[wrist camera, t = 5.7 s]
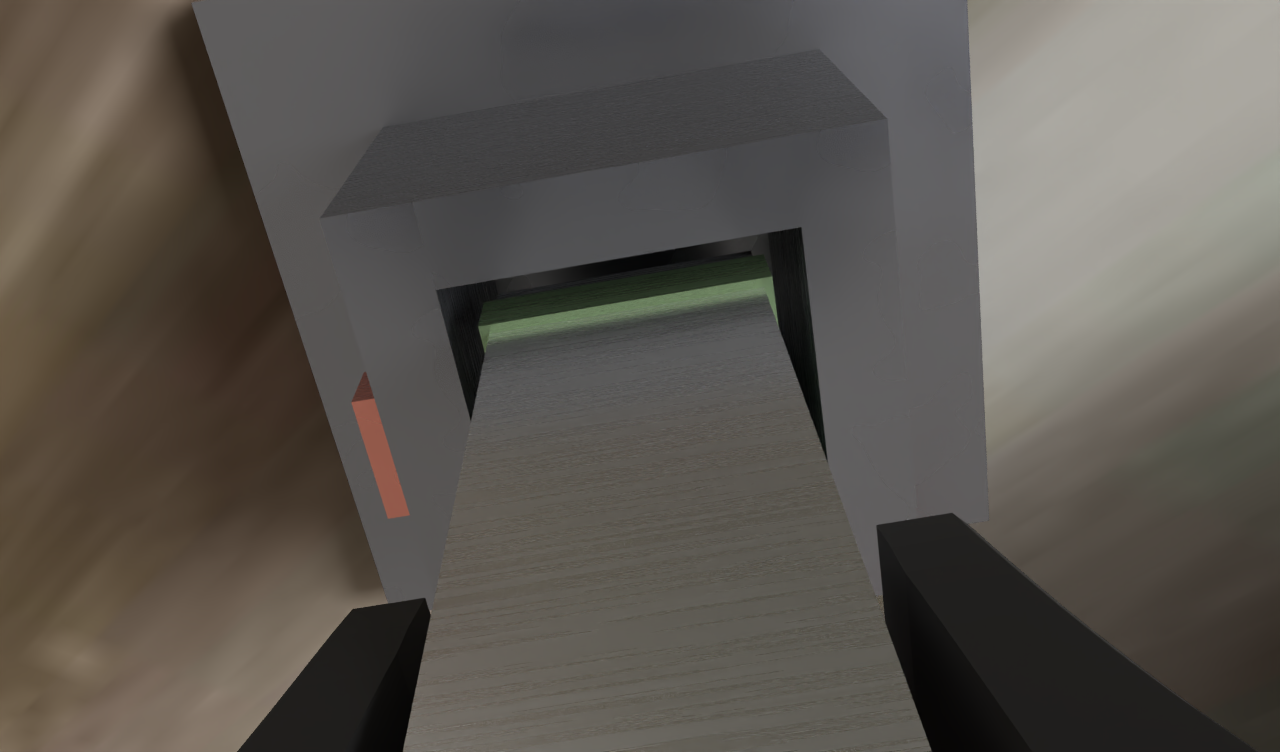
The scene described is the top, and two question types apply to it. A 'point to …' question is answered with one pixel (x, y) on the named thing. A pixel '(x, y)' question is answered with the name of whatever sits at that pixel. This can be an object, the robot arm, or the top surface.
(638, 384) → the light grey rectangular block
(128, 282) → the top surface
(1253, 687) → the top surface
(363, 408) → the grey square socket base
